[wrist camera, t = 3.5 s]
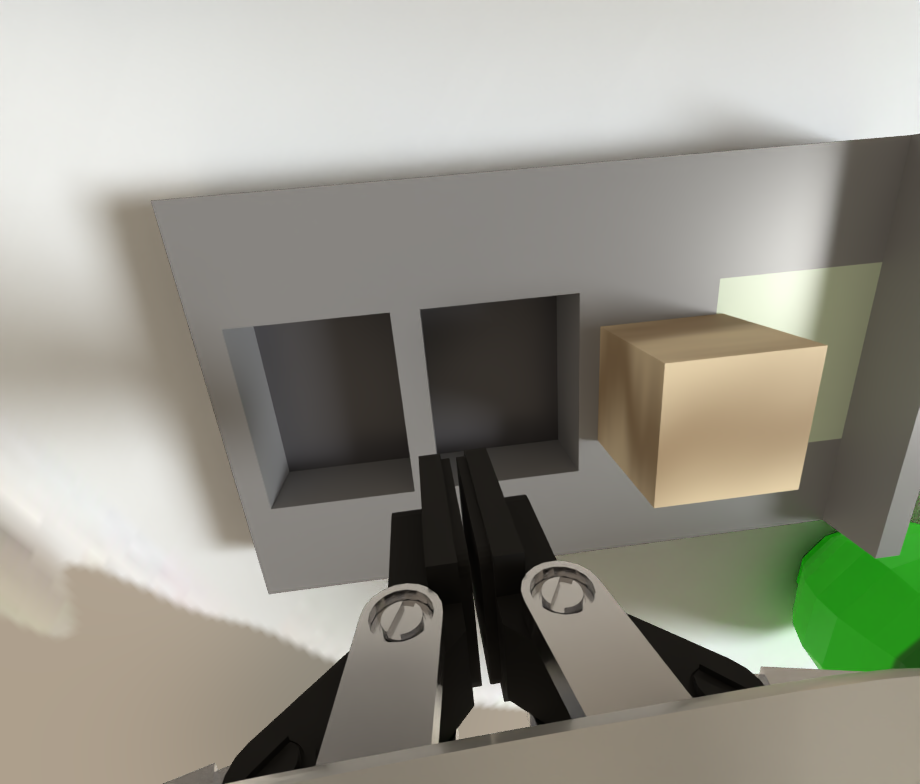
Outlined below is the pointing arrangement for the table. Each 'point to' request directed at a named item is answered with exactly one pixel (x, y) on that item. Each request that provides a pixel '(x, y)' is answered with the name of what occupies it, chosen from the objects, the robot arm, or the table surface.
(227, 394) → the box
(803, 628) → the plastic bottle
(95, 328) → the table surface
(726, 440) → the birch block
